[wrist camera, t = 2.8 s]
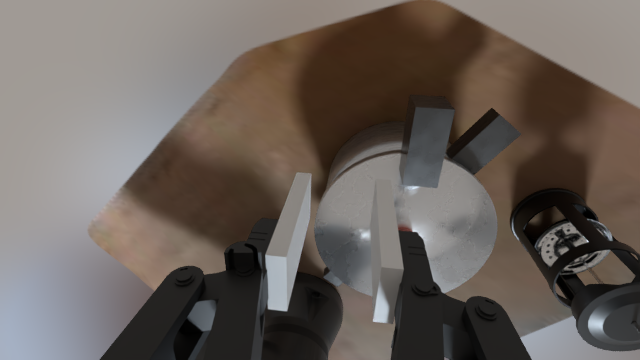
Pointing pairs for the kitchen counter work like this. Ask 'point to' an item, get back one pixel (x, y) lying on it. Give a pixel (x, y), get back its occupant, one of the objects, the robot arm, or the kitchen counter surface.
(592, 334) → the french press
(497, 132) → the pressure cooker pot
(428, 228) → the lid
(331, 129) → the kitchen counter surface
